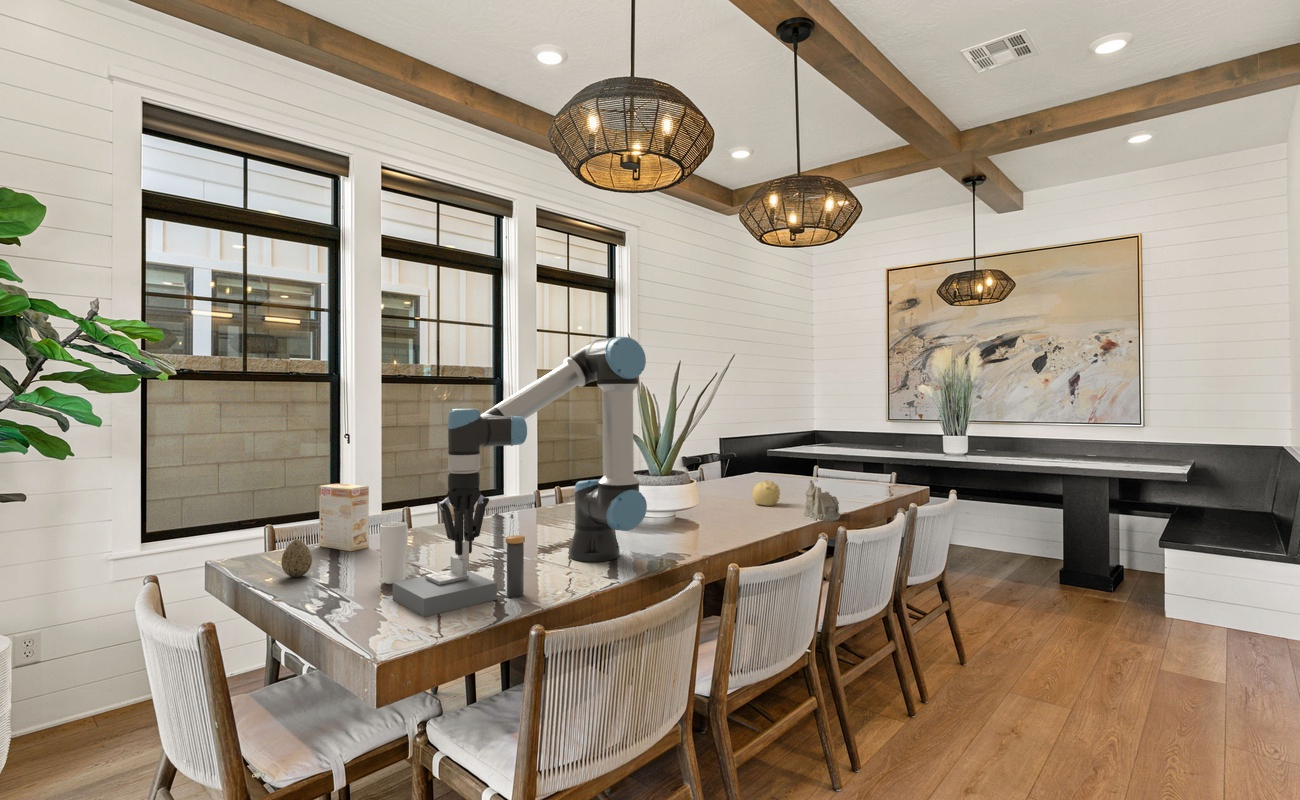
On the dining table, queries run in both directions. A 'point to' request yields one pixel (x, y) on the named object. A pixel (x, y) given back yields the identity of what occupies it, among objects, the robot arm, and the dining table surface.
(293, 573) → the decorative egg
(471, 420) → the robot arm
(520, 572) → the plug
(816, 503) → the ceramic cottage
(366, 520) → the coffeecake box
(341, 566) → the dining table surface
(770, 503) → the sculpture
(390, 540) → the drinking glass
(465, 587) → the socket block
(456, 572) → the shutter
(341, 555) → the dining table surface
